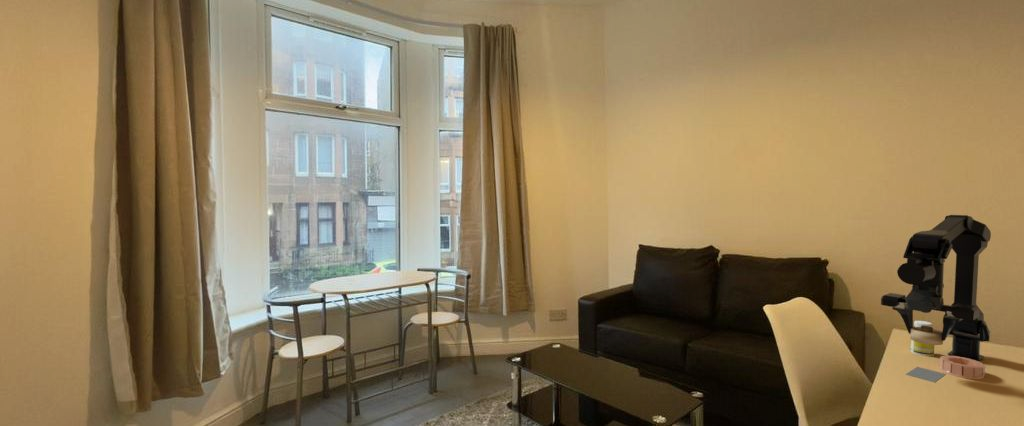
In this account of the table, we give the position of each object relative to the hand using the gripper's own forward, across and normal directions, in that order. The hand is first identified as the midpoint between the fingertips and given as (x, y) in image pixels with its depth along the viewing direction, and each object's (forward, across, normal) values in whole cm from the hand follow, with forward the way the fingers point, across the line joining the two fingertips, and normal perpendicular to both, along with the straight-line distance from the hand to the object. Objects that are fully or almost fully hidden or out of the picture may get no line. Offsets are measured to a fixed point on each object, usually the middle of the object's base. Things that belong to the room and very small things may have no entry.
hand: (926, 336), depth 120 cm
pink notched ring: (+11, +5, +9) cm, 15 cm away
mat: (+11, 0, 0) cm, 11 cm away
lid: (+1, 0, 0) cm, 1 cm away
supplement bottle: (+11, -6, +19) cm, 23 cm away
